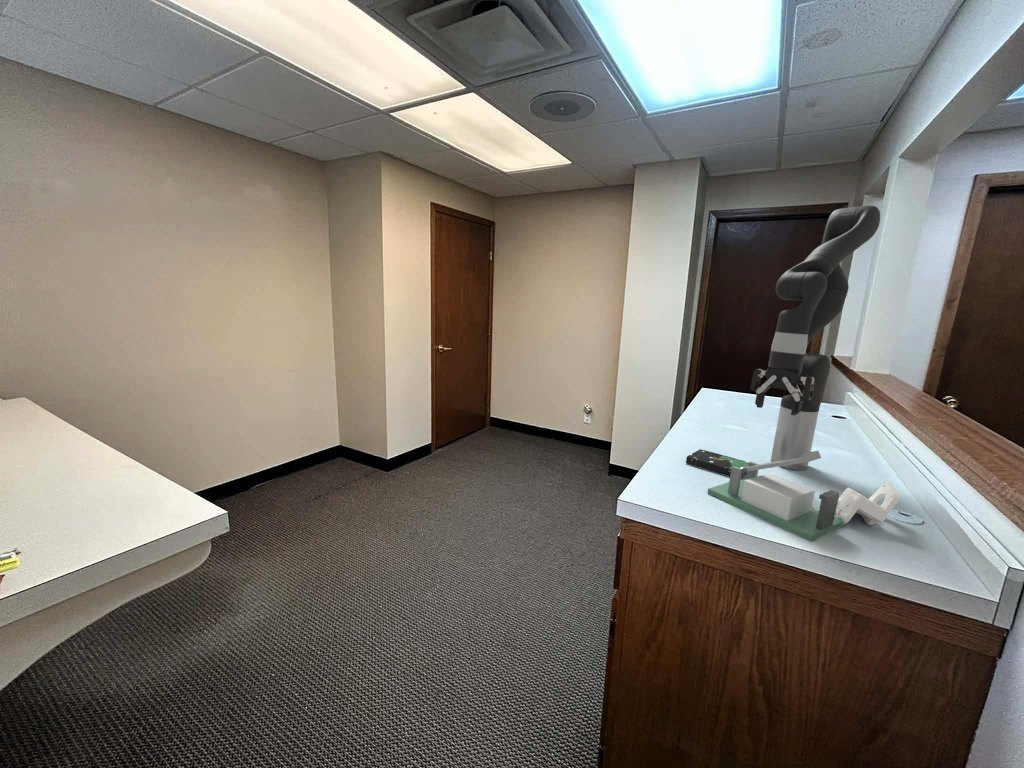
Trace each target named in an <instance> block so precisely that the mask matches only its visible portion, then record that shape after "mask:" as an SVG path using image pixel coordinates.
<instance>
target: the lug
mask: <svg viewBox="0 0 1024 768" xmlns="http://www.w3.org/2000/svg"><path fill="white" fill-rule="evenodd" d="M839 498H840V492H839V491H836V490H833V489H829V490H828V491H825V492H823V493H820V494H819V496H818V499H820V504H819V509H818V511H819V513H818V518H817V523H816V528H817V529H819V530H823V529H825V528H827V527H829V526H831V525H833V521H834V517H836V507H837V503H838V499H839Z"/></svg>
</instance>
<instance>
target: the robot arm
mask: <svg viewBox="0 0 1024 768" xmlns="http://www.w3.org/2000/svg"><path fill="white" fill-rule="evenodd" d="M880 223H881V212H880V209H879V208H878V207H877V206H876V205H859V206H851V207H844V208H837V209H834V210H833V211H832V213H831V214H830V215H829V217H828V219H827V222H826V224H825V229H824V233H823V236H822V241H821V244H820V245H818V246H817V247H816V248H815V249H813V250H812V251H811V252H810V253H809V255H808V256H807V257H806V258H805V259H804V261H801V262H799V263H798V264H796V265H795V266H793V267H790V269H788V270H787V271H785V272H784V273H782V274H781V276H780V277H779V278H778V280H777V282H776V285H775V293H776V295H777V297H778V298H779V299H780V300H784V301H801V303H800V304H799V305H798V307H795V308H790V309H785V310H782V311H780V313H779V314H778V319H777V324H776V329H775V332H774V336H773V340H772V344H771V347H770V353H769V359H768V364H767V369H766V370H763V369H762V368H755V369H754V370H753V374H752V379H751V382H750V386H749V390H751V391H753V392H755V393H756V396H755V402H754V403H755V404H754V405H756V408H759V409H761V408H763V407H764V404H765V403H764V402H765V398H766V394H765V393H766V392H767V391H768V390H770V389H771V388H773V389H779V390H783V391H788V392H789V393H790V394H787V395H783V396H782V397H781V400H780V406H779V410H778V411H779V412H778V415H777V416H778V417H777V423H776V429H775V435H774V440H773V446H772V451H771V455H770V456H771V457H770V461H771V462H777V461H783V460H789V459H795V458H800V457H799V455H802V454H805V453H809V452H812V447H813V442H814V437H815V431H816V428H817V423H818V417H819V412H820V408H821V407H820V406H821V404H822V401H823V397H824V394H825V389H826V385H827V382H828V377H829V374H830V369H831V362H830V361H831V360H830V358H829V356H827V355H825V354H820V353H812V352H807V348H808V346H809V345H810V342H811V341H812V340H813V338H815V336H816V335H817V334H818V333H819V332H820V331H821V330H823V329H824V328H825V327H826V326H828V325H829V324H830V323H831V322H832V321H833V320H835V318H837V316H838V315H839V314H840V313H841V312H842V310H843V307H844V305H845V301H846V298H847V296H848V293H849V292H848V291H849V282H848V279H847V277H846V275H845V273H844V271H843V269H842V267H841V265H840V263H842V262H843V260H845V259H846V258H847V257H848V256H849V255H851V254H852V253H854V252H855V251H856V250H858V249H859V248H860V247H861V246H863V245H864V244H866V243H868V242H869V240H871V239H872V238H873V237H874V235H875V234H876V232H877V230H878V229H879V228H880V227H879V226H880ZM764 376H765V378H766V381H765V382H764V383H763V384H762V385H761V386H760V384H761V380H762V378H764ZM798 385H801V386H804V390H803V391H801V389H800V388H799V386H798ZM809 464H810V463H809V462H805V463H798V464H792V465H785V466H781V467H782V468H786V469H790V470H797V471H800V470H801V471H803V470H804V471H805V470H807V469H809V468H808V467H809Z"/></svg>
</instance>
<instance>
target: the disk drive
mask: <svg viewBox="0 0 1024 768" xmlns="http://www.w3.org/2000/svg"><path fill="white" fill-rule="evenodd" d="M749 462H750V461H745V460H742V459H738V458H735V457H731V456H727V455H723V454H720V453H716V452H713V451H709V450H705V449H701V448H700V449H698V450H696V451H694V452H692V454H689V455H687V456H686V459H685V464H686V463H687V464H686V465H689V464H690V465H689V466H692V465H693V467H696V468H699V469H702V470H706V471H709V470H710V472H712V473H716V474H719V475H722V476H726V477H728V476H729V478H730V475H731V469H732V467H733V466H735V467H738V468H741V467H745V466H748V464H749ZM746 476H747V472H743V473H742V475H741V480H743V478H745V477H746Z"/></svg>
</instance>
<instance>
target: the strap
mask: <svg viewBox="0 0 1024 768" xmlns="http://www.w3.org/2000/svg"><path fill="white" fill-rule="evenodd" d="M799 457H800V458H795V459H789V460H783V461H777V462H772V461H771V462H766V463H761V464H760V463H758V464H759V465H753V466H752V465H748V466H745V467H741V469H742V473H743V472H747V471H753V470H758V471H760V470H765V469H771V468H776V467H778V468H779V467H782V466H785V465H792V464H798V463H805V462H813V461H816V460H820V459H822V457H821V453H820V452H819V450H814V451H811V452H809V453H805V454H802V455H799Z"/></svg>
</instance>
